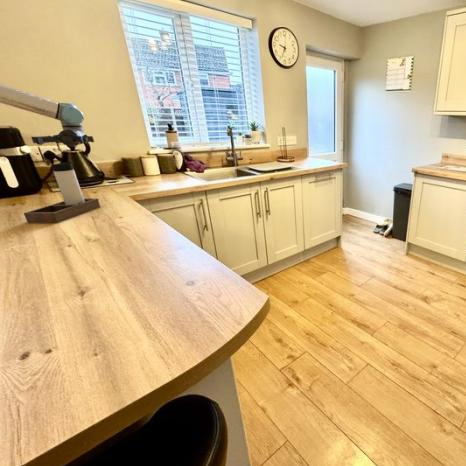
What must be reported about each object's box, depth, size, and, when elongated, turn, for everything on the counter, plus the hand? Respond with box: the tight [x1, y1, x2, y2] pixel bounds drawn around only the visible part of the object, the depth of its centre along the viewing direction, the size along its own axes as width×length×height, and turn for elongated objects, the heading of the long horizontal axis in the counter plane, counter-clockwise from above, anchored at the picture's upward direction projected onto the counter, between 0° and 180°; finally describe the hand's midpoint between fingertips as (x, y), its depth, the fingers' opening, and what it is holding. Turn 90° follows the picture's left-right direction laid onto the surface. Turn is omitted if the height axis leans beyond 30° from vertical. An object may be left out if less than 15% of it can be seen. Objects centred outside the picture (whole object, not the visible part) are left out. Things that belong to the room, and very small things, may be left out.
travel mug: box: [51, 160, 85, 205], centre depth 121 cm, size 6×7×20 cm
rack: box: [23, 197, 101, 224], centre depth 119 cm, size 11×21×4 cm, turn 2°
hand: (59, 140), depth 122 cm, fingers open, 13 cm apart
